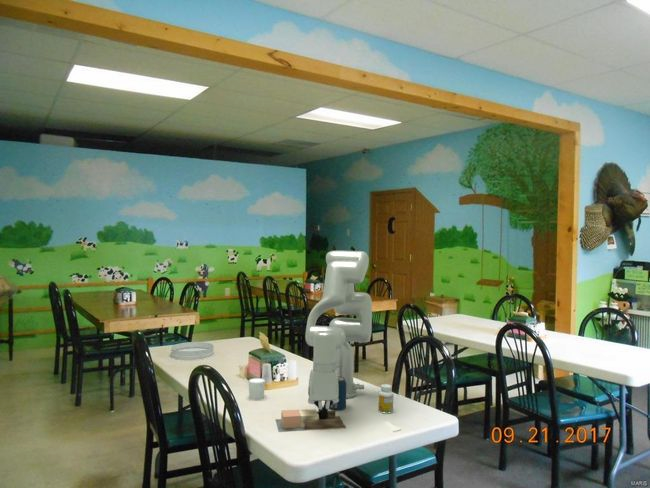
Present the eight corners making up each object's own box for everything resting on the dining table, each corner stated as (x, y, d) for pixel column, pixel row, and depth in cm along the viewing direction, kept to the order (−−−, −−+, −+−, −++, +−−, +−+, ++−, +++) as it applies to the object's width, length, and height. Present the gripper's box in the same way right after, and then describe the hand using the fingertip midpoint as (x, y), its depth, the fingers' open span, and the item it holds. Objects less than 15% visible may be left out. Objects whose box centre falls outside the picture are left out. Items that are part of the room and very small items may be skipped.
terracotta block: (298, 420, 172) (298, 409, 172) (300, 427, 166) (301, 415, 166) (281, 421, 171) (281, 410, 171) (283, 428, 165) (283, 416, 165)
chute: (339, 418, 178) (339, 409, 178) (346, 430, 167) (346, 420, 167) (275, 422, 173) (275, 412, 173) (278, 434, 163) (278, 424, 163)
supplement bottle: (377, 408, 189) (377, 383, 189) (391, 408, 189) (391, 383, 189) (379, 414, 184) (380, 388, 183) (394, 413, 184) (394, 387, 184)
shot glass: (262, 401, 195) (262, 383, 195) (245, 399, 196) (245, 382, 196) (267, 395, 202) (267, 378, 201) (251, 394, 203) (251, 377, 203)
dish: (201, 348, 280) (201, 340, 280) (221, 356, 264) (221, 347, 264) (163, 354, 265) (163, 345, 265) (183, 363, 249) (183, 353, 249)
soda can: (343, 406, 191) (344, 375, 191) (347, 412, 184) (348, 380, 184) (326, 407, 190) (326, 376, 189) (329, 413, 183) (330, 381, 183)
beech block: (315, 420, 173) (315, 408, 173) (318, 426, 168) (318, 415, 167) (298, 421, 172) (298, 409, 172) (301, 427, 166) (301, 416, 166)
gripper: (342, 363, 176) (341, 414, 176) (301, 364, 173) (299, 416, 173) (347, 369, 168) (346, 422, 169) (304, 370, 165) (303, 425, 166)
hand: (323, 419), depth 171 cm, fingers closed
